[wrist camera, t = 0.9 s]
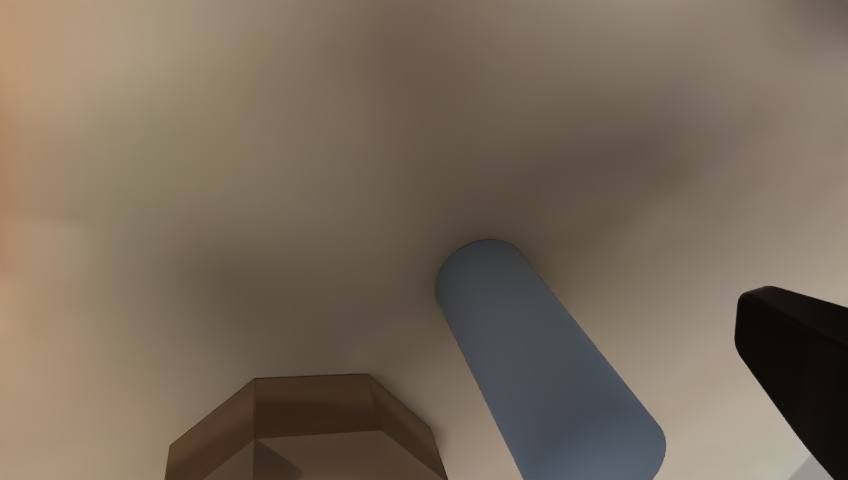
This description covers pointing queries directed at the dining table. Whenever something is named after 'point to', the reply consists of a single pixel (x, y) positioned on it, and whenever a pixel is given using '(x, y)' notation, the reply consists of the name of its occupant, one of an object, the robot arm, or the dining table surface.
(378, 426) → the bead
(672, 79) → the dining table surface
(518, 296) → the tapered blue cylinder
